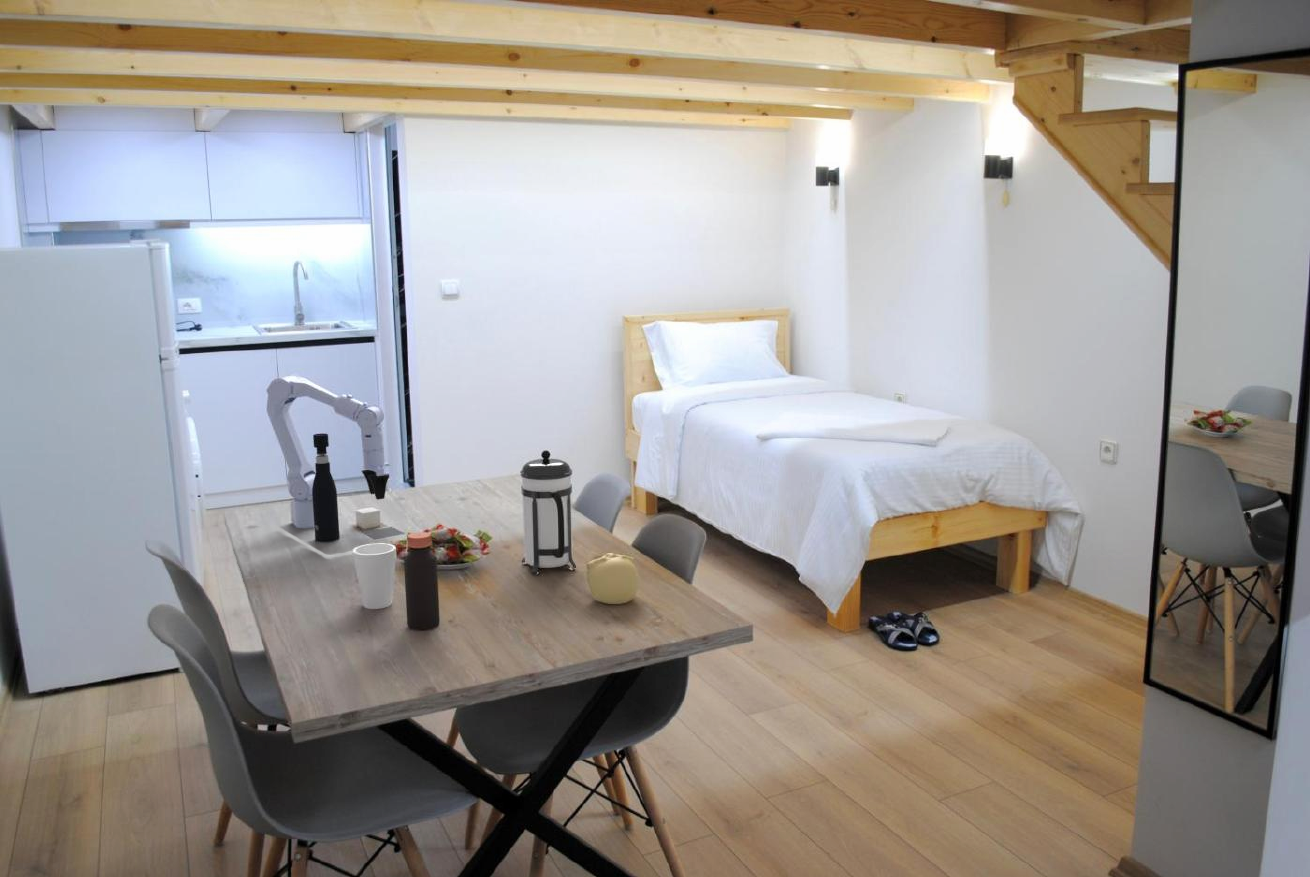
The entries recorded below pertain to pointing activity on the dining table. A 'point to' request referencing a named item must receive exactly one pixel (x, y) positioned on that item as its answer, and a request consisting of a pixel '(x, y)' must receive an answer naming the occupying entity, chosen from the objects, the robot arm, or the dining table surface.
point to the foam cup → (375, 573)
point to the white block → (368, 517)
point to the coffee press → (547, 513)
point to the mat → (383, 533)
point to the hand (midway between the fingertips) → (377, 496)
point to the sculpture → (613, 578)
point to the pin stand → (367, 528)
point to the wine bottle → (324, 495)
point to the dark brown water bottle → (421, 583)
